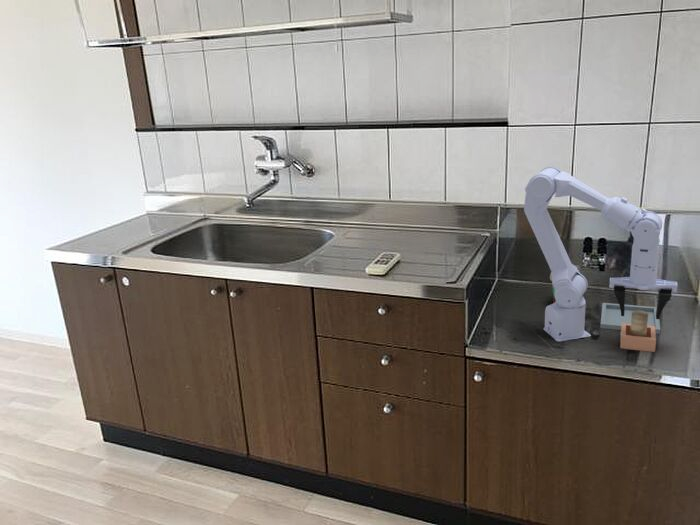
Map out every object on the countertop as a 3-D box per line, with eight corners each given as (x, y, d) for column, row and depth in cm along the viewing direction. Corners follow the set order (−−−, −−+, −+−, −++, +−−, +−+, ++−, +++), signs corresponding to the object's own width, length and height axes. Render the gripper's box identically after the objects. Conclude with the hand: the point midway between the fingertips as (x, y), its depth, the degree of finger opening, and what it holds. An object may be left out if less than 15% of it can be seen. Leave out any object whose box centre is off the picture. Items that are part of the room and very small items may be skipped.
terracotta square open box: (620, 350, 146) (621, 336, 144) (620, 336, 152) (621, 323, 151) (654, 354, 142) (656, 340, 141) (653, 339, 149) (654, 326, 148)
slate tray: (600, 330, 156) (600, 323, 156) (602, 308, 168) (602, 302, 167) (659, 336, 150) (660, 329, 150) (657, 313, 162) (657, 307, 162)
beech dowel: (635, 347, 145) (637, 317, 142) (626, 340, 148) (628, 311, 146) (648, 344, 146) (651, 315, 143) (639, 338, 149) (642, 309, 146)
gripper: (610, 267, 140) (607, 320, 144) (680, 271, 134) (674, 326, 138) (611, 257, 146) (608, 308, 150) (678, 261, 140) (672, 313, 144)
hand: (639, 316), depth 145 cm, fingers open, 7 cm apart
